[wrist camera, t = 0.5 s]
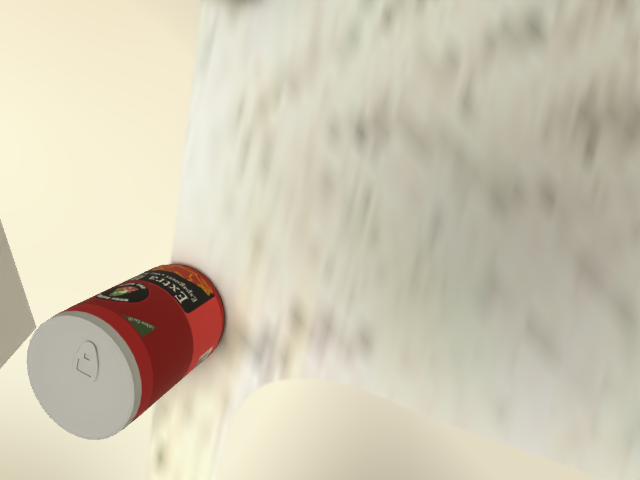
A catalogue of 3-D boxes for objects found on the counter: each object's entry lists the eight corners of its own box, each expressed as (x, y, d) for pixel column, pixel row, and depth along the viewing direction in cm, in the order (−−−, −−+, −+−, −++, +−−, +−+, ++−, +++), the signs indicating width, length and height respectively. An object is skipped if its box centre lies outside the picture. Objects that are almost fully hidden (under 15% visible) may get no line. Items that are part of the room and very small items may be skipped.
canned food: (229, 269, 40) (132, 328, 30) (227, 369, 42) (136, 456, 32) (137, 253, 42) (19, 303, 32) (140, 349, 44) (30, 424, 34)
